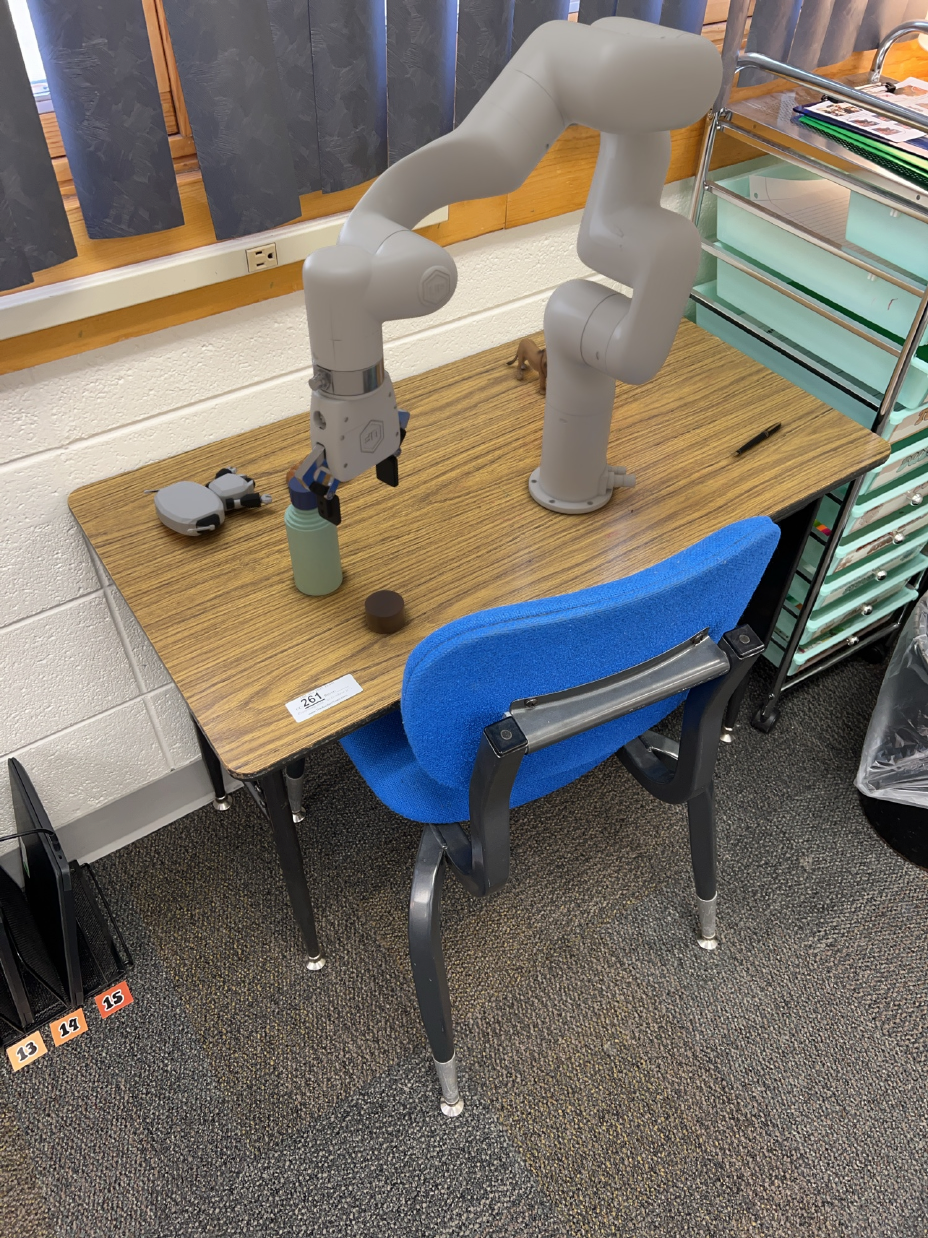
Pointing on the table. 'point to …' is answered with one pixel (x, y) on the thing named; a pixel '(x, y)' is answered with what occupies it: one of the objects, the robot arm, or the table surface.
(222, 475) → the robot toy
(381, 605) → the cylinder
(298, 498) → the cap
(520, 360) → the lion figurine
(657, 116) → the robot arm
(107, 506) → the table surface
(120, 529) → the table surface
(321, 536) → the bottle
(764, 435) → the fountain pen
